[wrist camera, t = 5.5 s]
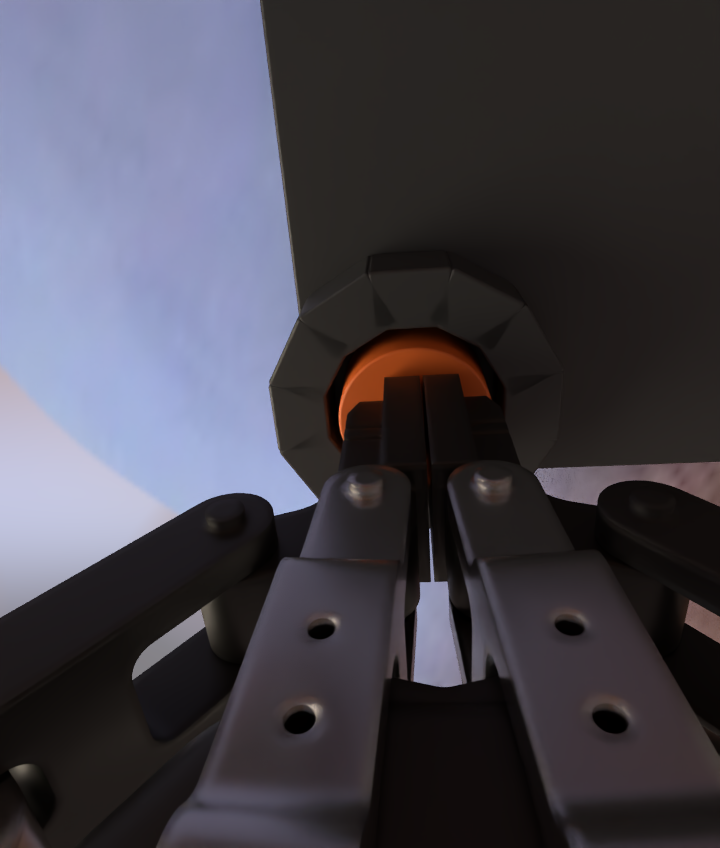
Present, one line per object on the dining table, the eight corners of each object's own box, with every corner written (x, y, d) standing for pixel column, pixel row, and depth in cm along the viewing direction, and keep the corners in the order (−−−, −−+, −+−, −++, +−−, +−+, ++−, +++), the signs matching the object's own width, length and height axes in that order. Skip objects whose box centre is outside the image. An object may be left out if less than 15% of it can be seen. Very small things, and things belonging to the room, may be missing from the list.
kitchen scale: (307, 468, 17) (290, 533, 15) (230, -102, 12) (181, -165, 9) (854, 447, 16) (945, 514, 13) (1072, -198, 10) (1305, -302, 8)
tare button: (350, 449, 15) (345, 488, 14) (338, 324, 14) (331, 352, 12) (481, 443, 15) (491, 483, 13) (484, 316, 13) (496, 343, 12)
